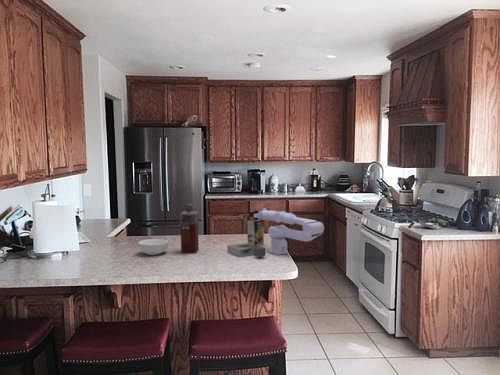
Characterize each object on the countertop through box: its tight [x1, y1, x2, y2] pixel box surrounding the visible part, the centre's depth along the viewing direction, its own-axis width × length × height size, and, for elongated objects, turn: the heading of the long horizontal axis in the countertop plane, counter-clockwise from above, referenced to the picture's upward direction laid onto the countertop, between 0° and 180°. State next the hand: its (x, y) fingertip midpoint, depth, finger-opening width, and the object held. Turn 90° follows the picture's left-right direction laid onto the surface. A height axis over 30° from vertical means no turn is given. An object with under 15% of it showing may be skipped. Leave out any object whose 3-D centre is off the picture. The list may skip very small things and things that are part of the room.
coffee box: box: [247, 218, 265, 247], centre depth 264 cm, size 9×6×16 cm
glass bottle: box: [179, 203, 200, 254], centre depth 248 cm, size 9×11×28 cm
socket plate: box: [226, 242, 257, 258], centre depth 244 cm, size 14×13×4 cm
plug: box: [253, 246, 266, 259], centre depth 234 cm, size 4×5×6 cm
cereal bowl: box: [138, 238, 169, 256], centre depth 246 cm, size 17×17×7 cm
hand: (255, 213), depth 259 cm, fingers open, 7 cm apart
